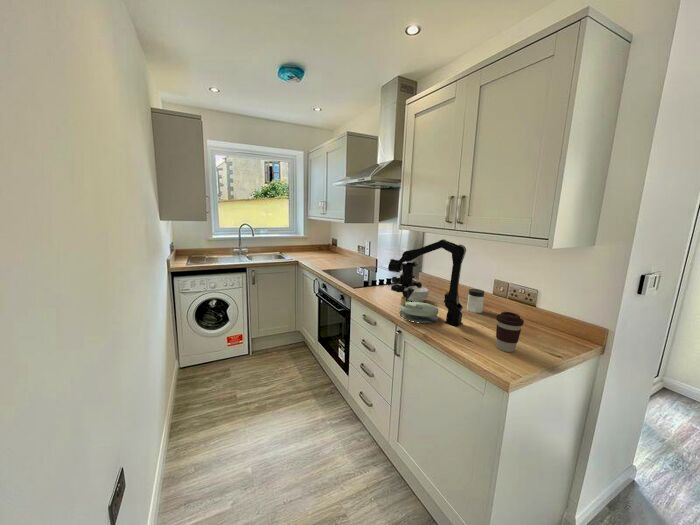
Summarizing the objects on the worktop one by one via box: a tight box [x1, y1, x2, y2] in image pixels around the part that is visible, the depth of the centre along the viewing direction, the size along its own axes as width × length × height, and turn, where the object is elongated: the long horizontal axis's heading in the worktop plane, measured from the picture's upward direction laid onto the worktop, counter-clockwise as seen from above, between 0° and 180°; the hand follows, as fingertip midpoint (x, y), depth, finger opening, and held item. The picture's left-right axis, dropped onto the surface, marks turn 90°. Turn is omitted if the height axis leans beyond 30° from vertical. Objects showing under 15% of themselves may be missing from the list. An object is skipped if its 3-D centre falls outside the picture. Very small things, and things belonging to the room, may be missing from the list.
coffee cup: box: [495, 311, 525, 353], centre depth 121 cm, size 10×10×15 cm
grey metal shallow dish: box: [398, 309, 439, 324], centre depth 154 cm, size 20×20×4 cm
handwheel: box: [399, 296, 439, 317], centre depth 153 cm, size 20×20×6 cm
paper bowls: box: [407, 286, 430, 303], centre depth 183 cm, size 15×15×8 cm
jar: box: [466, 288, 485, 314], centre depth 168 cm, size 9×8×12 cm
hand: (405, 301), depth 159 cm, fingers closed
